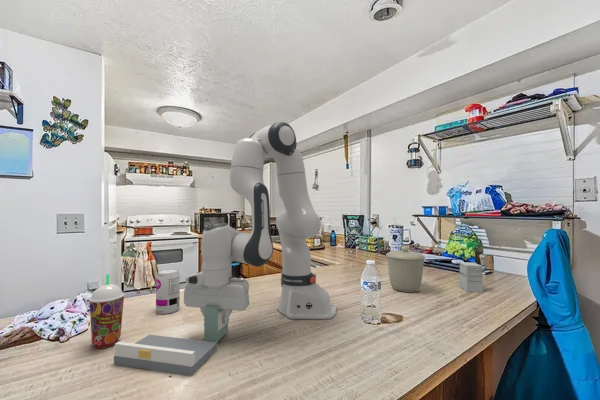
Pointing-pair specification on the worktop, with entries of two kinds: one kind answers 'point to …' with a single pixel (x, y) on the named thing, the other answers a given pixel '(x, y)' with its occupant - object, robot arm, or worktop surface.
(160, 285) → the supplement can
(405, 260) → the canister
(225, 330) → the product box
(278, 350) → the worktop surface
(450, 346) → the worktop surface
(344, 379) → the worktop surface
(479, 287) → the supplement box
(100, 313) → the smoothie
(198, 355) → the shelf board
